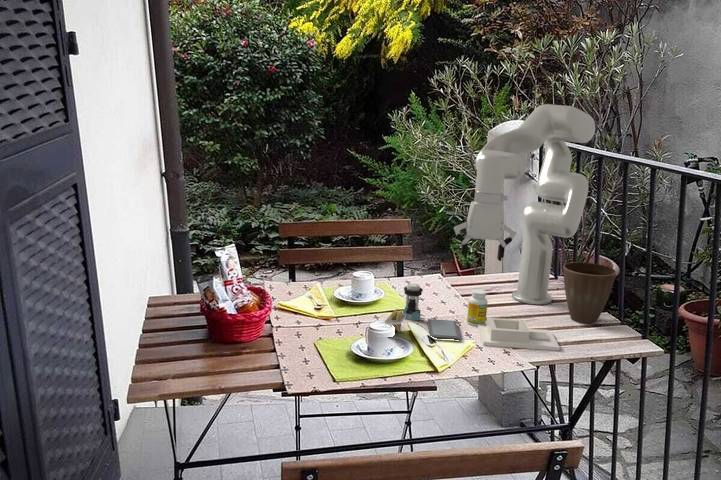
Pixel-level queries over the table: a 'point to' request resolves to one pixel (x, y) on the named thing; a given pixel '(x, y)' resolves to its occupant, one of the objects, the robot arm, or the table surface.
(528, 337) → the organizer tray
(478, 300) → the supplement bottle
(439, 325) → the phone
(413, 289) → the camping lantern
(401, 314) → the platform
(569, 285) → the plant pot
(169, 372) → the table surface
